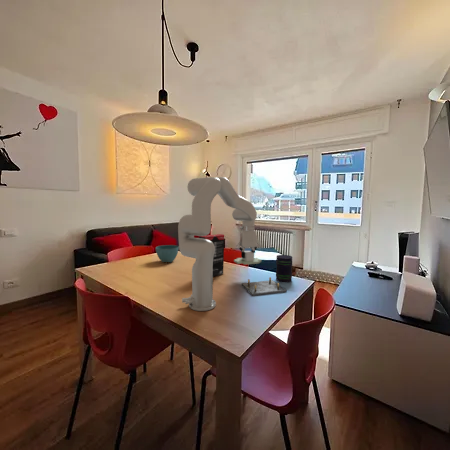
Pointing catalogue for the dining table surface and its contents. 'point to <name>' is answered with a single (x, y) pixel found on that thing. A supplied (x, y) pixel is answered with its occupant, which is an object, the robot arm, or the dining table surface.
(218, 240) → the graphics card box
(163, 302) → the dining table surface
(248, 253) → the board
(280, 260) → the storage jar
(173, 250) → the teal bowl
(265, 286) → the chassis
